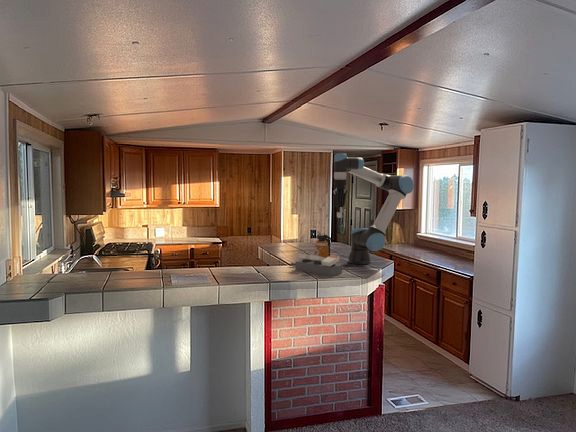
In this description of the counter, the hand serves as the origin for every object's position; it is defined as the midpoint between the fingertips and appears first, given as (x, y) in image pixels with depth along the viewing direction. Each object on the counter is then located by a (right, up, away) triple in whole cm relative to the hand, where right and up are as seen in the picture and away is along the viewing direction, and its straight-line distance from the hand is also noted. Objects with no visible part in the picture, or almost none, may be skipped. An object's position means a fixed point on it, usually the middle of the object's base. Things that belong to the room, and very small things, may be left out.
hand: (339, 217), depth 273 cm
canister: (-9, -31, +16) cm, 36 cm away
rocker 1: (-20, -26, +2) cm, 33 cm away
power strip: (-16, -32, 0) cm, 36 cm away
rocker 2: (-13, -26, -4) cm, 30 cm away
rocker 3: (-6, -27, -9) cm, 29 cm away
